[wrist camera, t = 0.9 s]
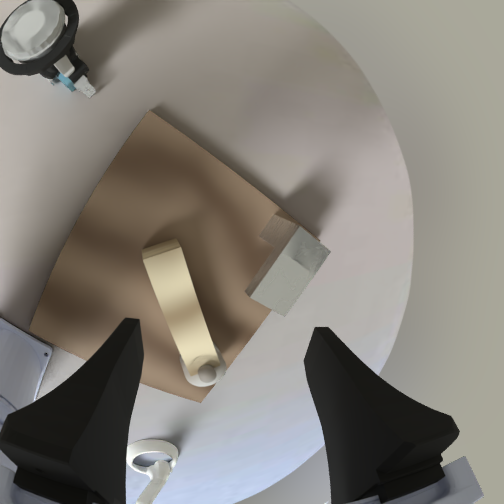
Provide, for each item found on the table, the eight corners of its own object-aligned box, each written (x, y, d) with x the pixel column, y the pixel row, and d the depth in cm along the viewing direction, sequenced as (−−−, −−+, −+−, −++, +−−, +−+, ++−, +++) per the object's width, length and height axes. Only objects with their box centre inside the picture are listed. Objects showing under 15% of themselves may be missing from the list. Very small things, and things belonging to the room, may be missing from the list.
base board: (198, 397, 32) (200, 402, 31) (30, 325, 22) (28, 330, 21) (315, 238, 31) (320, 240, 30) (148, 111, 21) (149, 109, 20)
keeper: (263, 294, 29) (284, 316, 25) (231, 275, 27) (249, 297, 23) (302, 236, 29) (330, 251, 25) (273, 214, 27) (300, 225, 23)
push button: (116, 73, 19) (110, 26, 11) (70, 121, 19) (32, 102, 10) (69, 30, 16) (45, -28, 7) (23, 76, 16) (-26, 41, 7)
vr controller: (97, 457, 23) (154, 488, 22) (141, 418, 35) (188, 439, 34) (94, 495, 23) (145, 523, 22) (134, 455, 35) (176, 474, 34)
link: (223, 362, 30) (233, 382, 27) (187, 375, 29) (194, 397, 26) (182, 236, 24) (189, 248, 21) (135, 251, 23) (136, 266, 20)
